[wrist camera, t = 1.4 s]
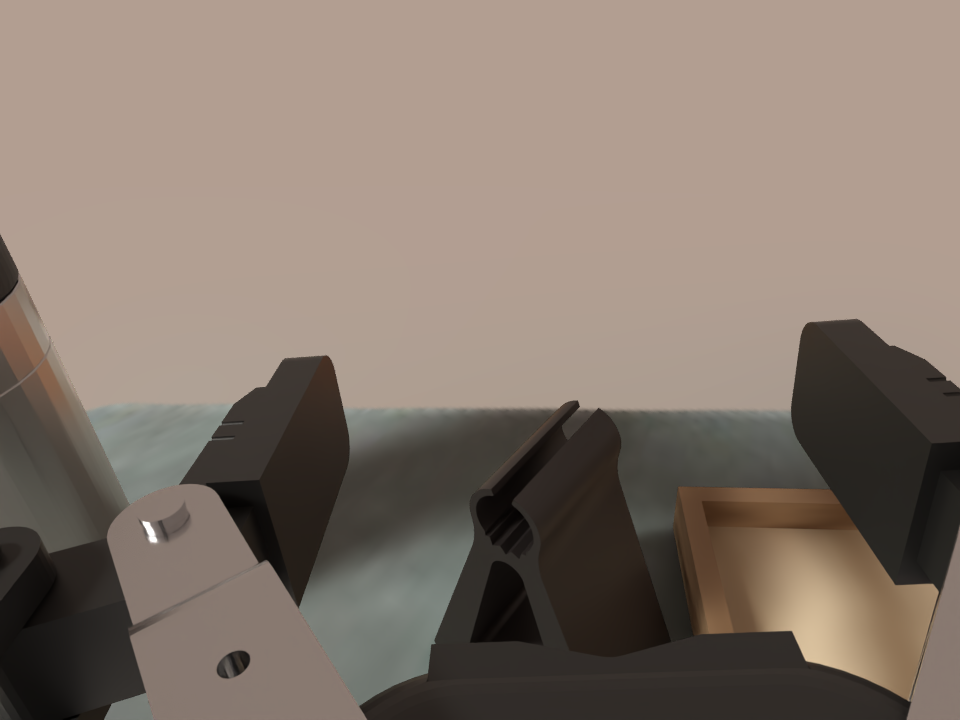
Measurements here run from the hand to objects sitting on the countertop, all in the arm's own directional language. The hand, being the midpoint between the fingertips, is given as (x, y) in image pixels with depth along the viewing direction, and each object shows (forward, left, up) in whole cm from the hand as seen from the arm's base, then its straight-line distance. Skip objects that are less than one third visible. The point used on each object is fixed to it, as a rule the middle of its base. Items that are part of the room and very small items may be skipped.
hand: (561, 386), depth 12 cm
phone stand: (0, +10, -22) cm, 24 cm away
